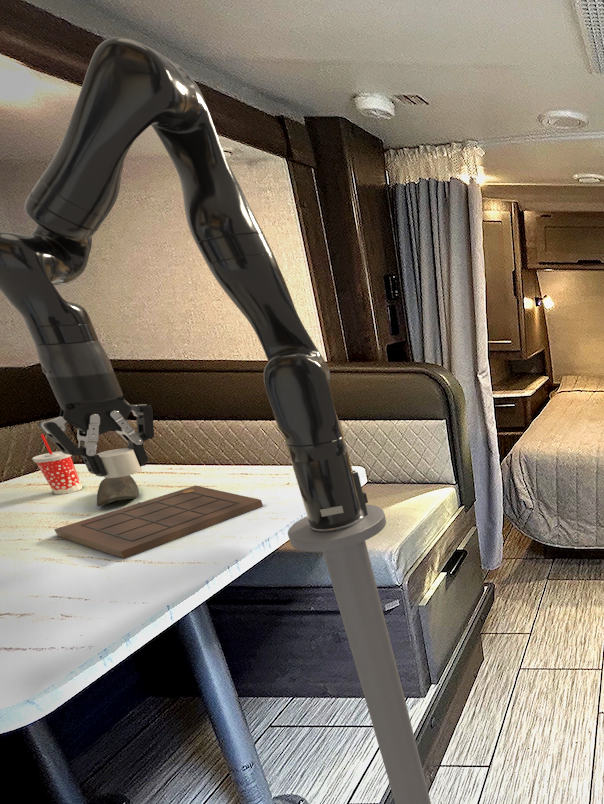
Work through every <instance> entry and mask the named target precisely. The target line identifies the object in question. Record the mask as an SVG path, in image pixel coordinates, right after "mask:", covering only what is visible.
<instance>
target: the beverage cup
mask: <svg viewBox="0 0 604 804" xmlns="http://www.w3.org/2000/svg"><path fill="white" fill-rule="evenodd" d="M40 438H41V439H42V442H43V443H44V446H45V447H46V450H47V452H48V453H42V454H39V455H35V456H33V457H32V458H31V459H32V461H33V462H34V463H36V465H37V467H38V468H39V471H40V472H41V474H42V475H43V477H44V479H45V480H46V481H47V484H48V485H49V488H51V490H52V492H53V493H54V494H55V495H64V494H69V493H74V492H77V491H80V490H82V488H83V485H82V483H81V480H80V478H79V475H78V472H77V470H76V467H75V464H74V461H73V458H72V456H73V455H68V454H64V453H63V452H62V451H61V450H59V451H52V449H51V447H50V445H49V443H48V441H47V439H46V437H45V434H44V433H41V434H40Z"/></svg>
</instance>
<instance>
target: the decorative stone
mask: <svg viewBox="0 0 604 804" xmlns="http://www.w3.org/2000/svg"><path fill="white" fill-rule="evenodd" d="M139 494H140V492H139V487H138V485H137V482H136V481H135V480H134V478H133V477H132V476H131V475H128V476H123V477H117V478H103V479H102V480H101V481H100V483H99V485H98V490H97V494H96V505H97V506H98V507H102V506H106V505H108V504H111V503H114V502H119V501H124V500H134V499H138V497H139V496H140V495H139Z"/></svg>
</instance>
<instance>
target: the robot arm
mask: <svg viewBox="0 0 604 804" xmlns="http://www.w3.org/2000/svg"><path fill="white" fill-rule="evenodd" d="M149 127H152V129H153V131H154V132H155V133H156V135H157V137H158V138H159V140H160V142H161V143H162V145H163V147H164V149H165V151H166V152H167V154H168V155H169V158H170V160H171V162H172V164H173V166H174V168H175V170H176V173H177V175H178V178H179V183H180V186H181V191H182V198H183V207H184V212H185V217H186V222H187V226H188V229H189V232H190V234H191V237H192V239H193V241H194V243H195V244H196V246H197V249H198V251H199V252H200V254H201V256H202V258H203V260H204V262H205V264H206V265H207V267H208V269H209V271H210V272H211V274H212V275H213V277H214V278H215V281H216V282H217V283H218V284H219V286H220V287H221V289H222V290H223V291H224V293H225V294H226V295H227V296H228V297H229V299H230V300H231V302H232V303H233V304H234V305H235V306H236V307H237V309H238V310H239V311H240V312H241V314H242V315H243V316H244V317H245V319H246V320H247V321H248V323H249V324H250V326H251V327H252V329H253V331H254V333H255V335H256V336H257V338H258V341H259V343H260V345H261V347H262V350H263V352H264V354H265V357H266V359H267V363H266V365H265V366H264V370H263V383H264V389H265V391H266V394H267V398H268V401H269V404H270V407H271V410H272V413H273V417H274V420H275V422H276V425H277V428H278V429H279V431H280V433H281V434H282V436H283V439H284V442H285V445H286V448H287V452H288V455H289V459H290V463H291V467H292V469H293V473H294V477H295V479H296V483H297V486H298V490H299V493H300V496H301V501H302V503H303V507H304V511H305V514H306V516H307V517H308V521H309V526H310V529H311V530H312V531H315V532H333V531H338V530H342V529H346V528H349V527H351V526H354V525H356V524H357V523H359V522H360V521H362V520H363V518H364V517H365V516H367V515H368V512H367V508H366V504H368V503H369V500H368V496H367V493H366V492H364V491H363V487H362V484H361V483H362V482H361V479H360V476H359V472H358V471H357V470H353V466H352V462H351V459H350V455H349V451H348V448H347V443H346V439H345V436H344V430H343V427H342V423H341V421H340V420H339V417H338V415H337V412H336V411H337V410H336V407H335V405H334V399H333V396H332V393H331V389H330V385H331V379H332V375H331V371H330V368H329V365H328V364H327V362H326V361H325V359H324V357H323V355H322V354H321V352H320V350H319V349H318V347H317V346H316V345H315V343H314V341H313V339H312V338H311V336H310V334H309V333H308V331H307V329H306V327H305V326H304V324H303V322H302V320H301V318H300V316H299V314H298V311H297V309H296V307H295V304H294V301H293V299H292V296H291V293H290V291H289V288H288V286H287V283H286V280H285V279H284V276H283V273H282V271H281V268H280V266H279V264H278V261H277V259H276V257H275V255H274V252H273V250H272V248H271V246H270V244H269V242H268V239H267V238H266V236H265V234H264V232H263V229H262V228H261V226H260V224H259V222H258V220H257V218H256V216H255V214H254V212H253V210H252V208H251V206H250V203H249V202H248V200H247V197H246V195H245V193H244V192H243V189H242V188H241V185H240V184H239V182H238V180H237V178H236V176H235V173H234V171H233V170H232V168H231V166H230V164H229V161H228V159H227V156H226V154H225V151H224V148H223V145H222V143H221V140H220V137H219V135H218V132H217V129H216V127H215V125H214V122H213V119H212V115H211V112H210V110H209V107H208V105H207V102H206V99H205V98H204V95H203V93H202V91H201V89H200V87H199V85H198V84H197V82H195V80H194V79H193V78H192V76H191V75H190V74H189V73H188V72H187V71H186V70H185V68H183V67H182V66H181V65H180V64H178V63H177V62H175V61H173V60H171V59H170V58H168V57H167V56H165V55H163V54H162V53H160V52H158V51H156V50H155V49H153V48H151V47H149V46H147V45H145V44H144V43H142V42H140V41H137V40H135V39H132V38H129V37H123V36H122V37H121V36H118V37H117V36H116V37H110V38H107V39H105V40H103V41H102V42H100V44H99V45H98V46H97V47H96V48H95V50H94V52H93V54H92V56H91V59H90V61H89V65H88V67H87V70H86V73H85V76H84V79H83V82H82V86H81V89H80V92H79V95H78V97H77V100H76V103H75V106H74V109H73V111H72V115H71V117H70V119H69V122H68V125H67V128H66V129H65V130H66V131H65V133H64V135H63V137H62V139H61V142H60V144H59V146H58V149H57V150H56V152H55V153H54V156H53V158H52V159H51V161H50V163H49V164H48V166H47V167H46V169H44V172H43V173H42V174H41V175H40V178H38V180H37V182H36V184H35V185H34V186H33V187H32V190H31V192H30V193H29V194H28V196H27V197H26V200H25V202H24V212H25V214H26V215H27V216H28V218H29V219H30V220H31V221H32V222H34V223H35V224H36V227H35V229H34V230H33V232H31V233H20V232H11V231H0V291H1V293H2V294H3V295H4V297H5V298H6V299H7V301H8V302H9V303H10V304H11V305H12V306H13V308H15V310H16V311H17V312H18V313H19V314H20V316H21V317H22V319H23V321H24V324H25V326H26V329H27V331H28V333H29V335H30V338H31V341H32V342H33V344H34V346H35V349H36V354H37V359H38V360H39V363H40V365H41V370H42V373H43V374H44V375H45V376H46V379H47V381H48V383H49V386H50V387H51V388H50V389H51V390H52V392H53V395H54V397H55V399H56V401H57V403H58V405H59V407H60V412H59V416H57V417H55V418H51V419H50V420H40V421H39V422H38V423H37V425H38V426H37V427H39V428H40V429H41V431H42V432H43V434H44V435H46V436H47V437H48V438H49V439H50V440H51V441H52V442H53V444H54V445H55V446H56V447H57V448H58V449H59V451H62V452H63V453H64V454H68V455H72V456H74V457H75V456H80V457H81V458H82V460H83V463H84V464H85V466H86V467H85V468H86V469H87V471H88V472H89V473H90V474H91V475H95V476H96V477H99V478H102V477H103V476H106V475H107V472H106V470H105V468H104V466H103V463H102V461H101V459H100V456H99V455H96V454H97V448H98V447H97V445H98V444H97V443H99V440H100V439H99V438H100V436H99V435H103V434H105V433H107V432H115V433H116V434H118V435H120V436H121V438H122V439H123V440H124V441H125V442H126V443H127V444H128V445H126V448H131V449H133V450H134V452H135V455H136V457H137V459H138V462H139V464H140V467H145V466H147V462H148V461H149V457H148V455H147V452H146V449H145V446H144V442H146V441H148V440H152V439H153V438H154V437H155V425H154V411H153V406H151V405H149V404H145V403H144V404H143V403H138V404H131V403H129V402H128V401H127V400H126V399H125V397H124V393H123V391H122V388H121V386H120V383H119V381H118V378H117V375H116V373H115V370H114V368H113V365H112V363H111V361H110V358H109V356H108V353H107V352H106V350H105V348H104V346H103V345H102V343H101V341H100V339H99V335H98V334H97V331H96V329H95V326H94V324H93V321H92V319H91V316H90V314H89V313H88V311H87V310H86V308H85V307H84V306H82V305H81V304H78V303H76V302H71V301H69V300H66V299H65V298H63V296H62V295H61V293H60V292H59V290H57V288H56V287H55V286H64V285H69V284H71V283H73V282H74V281H76V280H77V279H79V278H80V276H82V274H83V273H84V272H85V270H86V268H87V265H88V262H89V258H90V253H91V251H92V246H93V239H94V236H95V235H96V233H97V232H98V231H99V230H100V228H101V226H102V225H103V224H104V222H105V221H106V220H107V217H108V216H109V214H111V212H112V210H113V209H114V207H115V205H116V203H117V201H118V198H119V195H120V190H121V185H122V177H123V168H124V164H125V160H126V157H127V155H128V154H129V153H128V152H129V150H130V149H131V147H132V145H134V142H135V141H136V140H137V138H139V137H140V135H142V134H143V133H144V132H145V131H146V130H147V129H148V128H149ZM131 412H132V415H133V416H134V417H136V429H137V430H136V429H134V427H133V426H132V425H131V424H130V423H129V422H128V418H129V416H130V414H131ZM66 423H67V424H68V425H70V426H72V427H74V428H75V429H76V433H77V434H76V439H77V441H78V443H77V444H78V446H77V445H76V443H74V442H73V441H72V440H71V439H70V438H69V436H68V435H67V434H66V433H65V432H66V430H67V427H66ZM103 478H104V477H103Z"/></svg>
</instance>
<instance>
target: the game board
mask: <svg viewBox="0 0 604 804" xmlns="http://www.w3.org/2000/svg"><path fill="white" fill-rule="evenodd" d="M261 507H264V505H263V501H262V499H259V498H255V497H249V496H245V495H241V494H237V493H232V492H228V491H223V490H218V489H215V488H209V487H205V486H201V485H191V486H189V487H186V488H182V489H179V490H176V491H173V492H170V493H166V494H164V495H160V496H157V497H153V498H149V499H146V500H144V501H141V502H138V503H135V504H131V505H128V506H124V507H122V508H121V507H120V508H119V509H114V510H112V511H111V510H110V511H108V512H105V513H102V514H99V515H96V516H92V517H89V518H86V519H83V520H79V521H76V522H73V523H70V524H66V525H63V526H60V527H56V528H54V532H55V533H56V536H57V537H59V538H63V539H65V540H68V541H70V542H74V543H77V544H81V545H82V546H85V547H89V548H90V549H95V550H98V551H100V552H104V553H106V554H109V555H112V556H115V557H118V558H121V559H124V560H125V559H128V558H129V557H132V556H135V555H137V554H140V553H144V552H145V551H148V550H150V549H153V548H156V547H159V546H161V545H165V544H167V543H169V542H172V541H174V540H178V539H180V538H183V537H185V536H187V535H190V534H193V533H196V532H199V531H201V530H204V529H206V528H209V527H212V526H214V525H217V524H219V523H222V522H224V521H227V520H230V519H233V518H235V517H238V516H241V515H242V514H243V515H244V514H246V513H248V512H251V511H254V510H256V509H259V508H261Z"/></svg>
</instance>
